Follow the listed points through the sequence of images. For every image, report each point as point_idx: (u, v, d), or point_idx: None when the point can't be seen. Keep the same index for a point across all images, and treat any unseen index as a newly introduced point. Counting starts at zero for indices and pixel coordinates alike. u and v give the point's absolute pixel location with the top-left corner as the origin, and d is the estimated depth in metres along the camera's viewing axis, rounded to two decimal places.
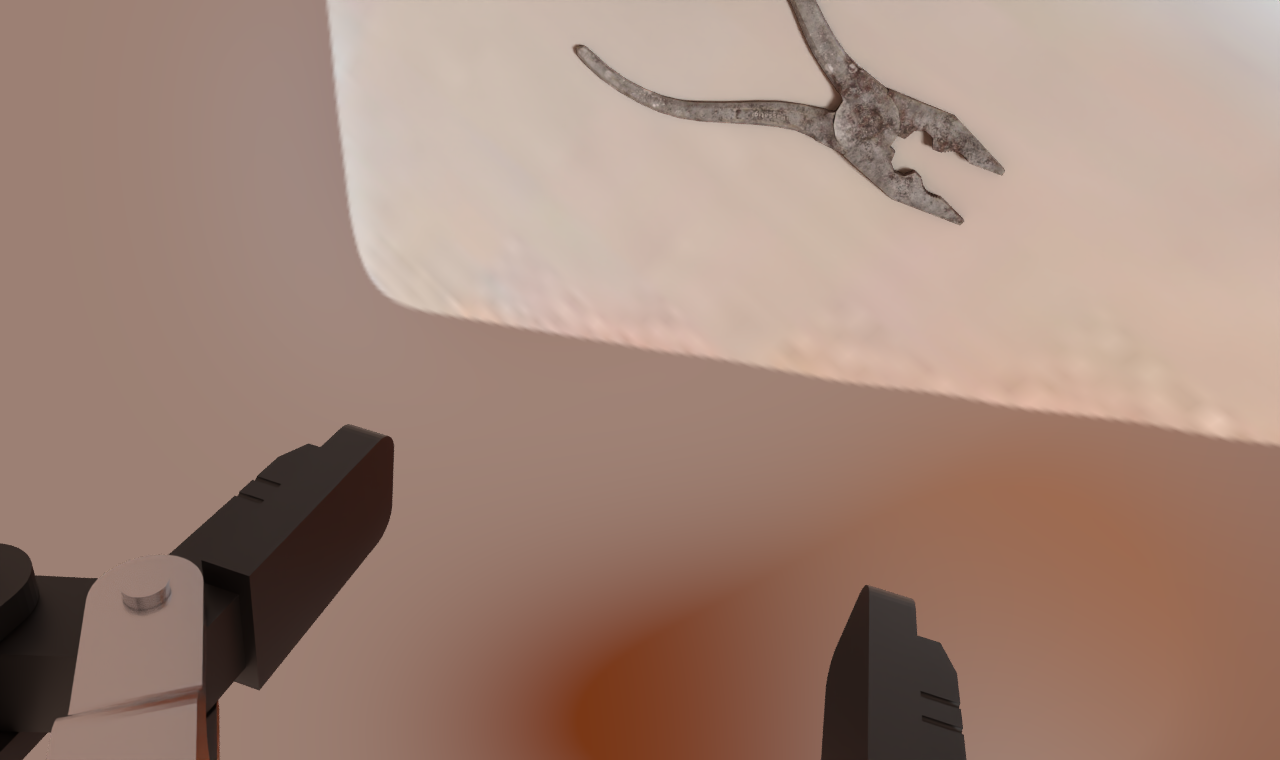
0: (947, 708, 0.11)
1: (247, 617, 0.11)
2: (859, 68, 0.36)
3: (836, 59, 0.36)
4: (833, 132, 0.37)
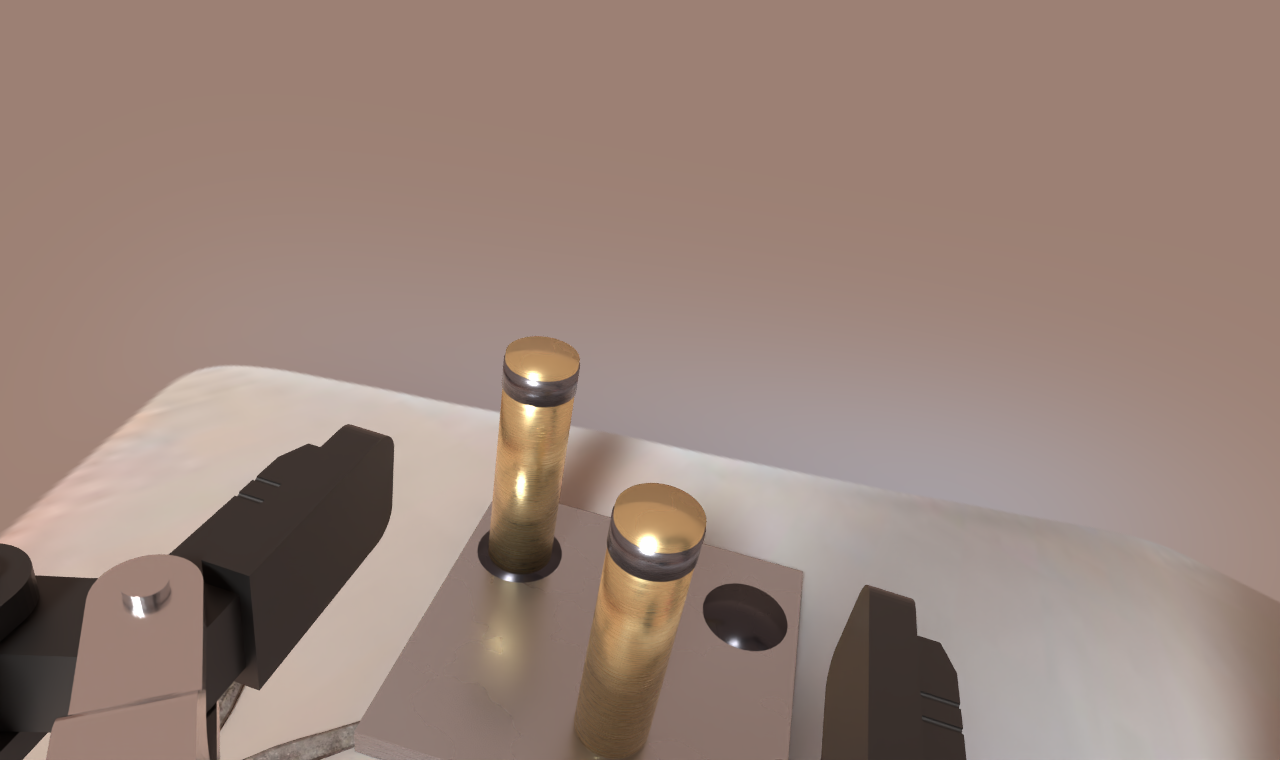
0: (947, 708, 0.11)
1: (247, 617, 0.11)
2: None
3: None
4: None
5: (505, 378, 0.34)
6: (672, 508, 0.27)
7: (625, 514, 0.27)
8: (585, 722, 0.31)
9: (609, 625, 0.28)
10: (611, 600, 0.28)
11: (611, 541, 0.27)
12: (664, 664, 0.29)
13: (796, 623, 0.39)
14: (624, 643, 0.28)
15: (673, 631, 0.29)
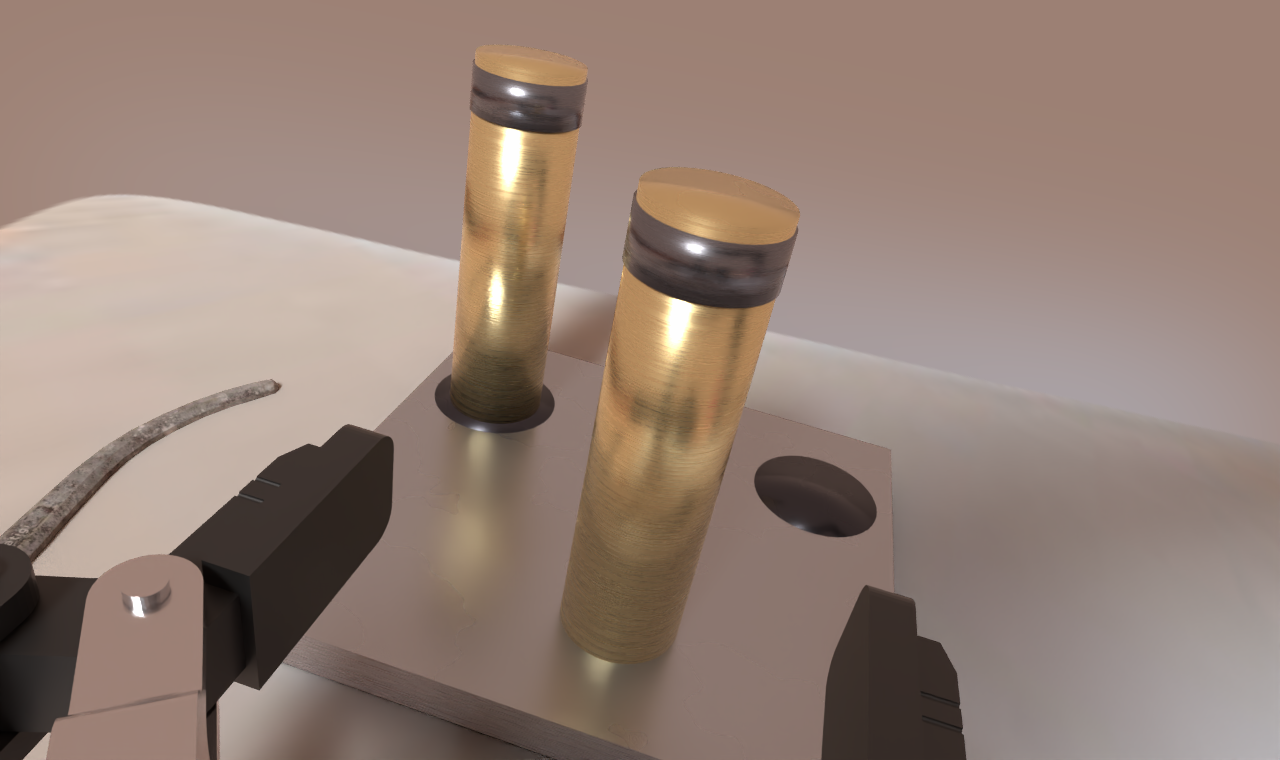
0: (947, 708, 0.11)
1: (247, 617, 0.11)
2: None
3: None
4: None
5: (473, 92, 0.22)
6: (739, 194, 0.15)
7: (658, 188, 0.15)
8: (578, 601, 0.19)
9: (622, 408, 0.16)
10: (626, 360, 0.16)
11: (631, 241, 0.15)
12: (711, 495, 0.18)
13: (888, 508, 0.27)
14: (647, 441, 0.16)
15: (730, 430, 0.17)
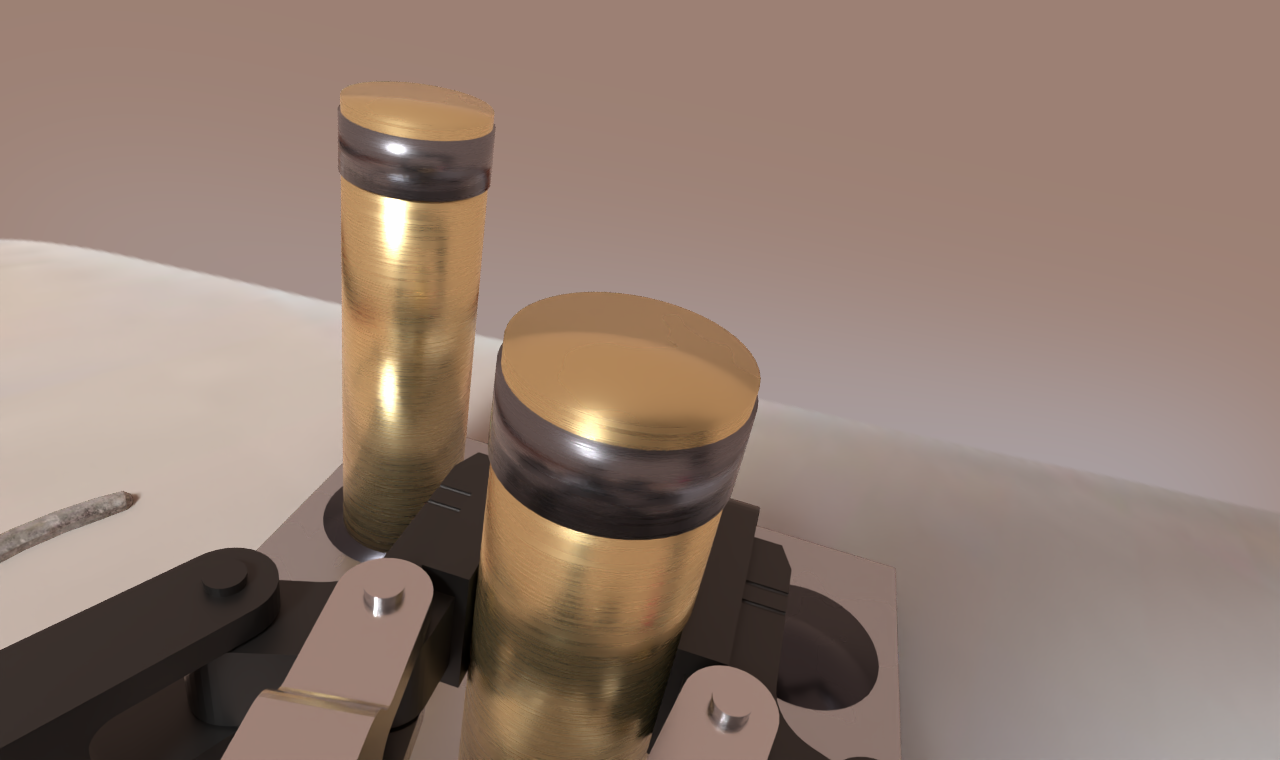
0: (775, 596, 0.12)
1: (459, 619, 0.11)
2: None
3: None
4: None
5: (340, 146, 0.17)
6: (667, 344, 0.10)
7: (532, 345, 0.09)
8: None
9: (496, 658, 0.11)
10: (497, 593, 0.10)
11: (494, 424, 0.10)
12: (640, 757, 0.12)
13: (894, 658, 0.21)
14: (533, 708, 0.11)
15: (663, 679, 0.11)
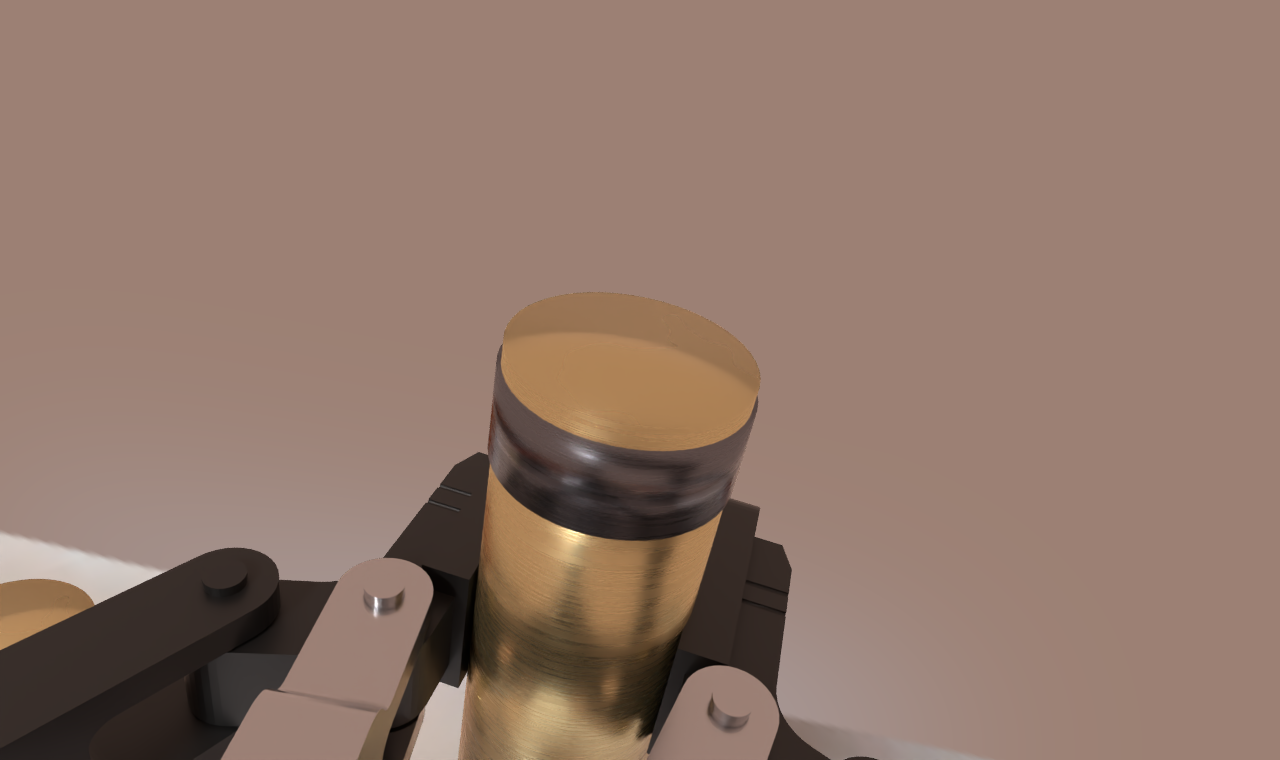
0: (775, 596, 0.12)
1: (459, 619, 0.11)
2: None
3: None
4: None
5: None
6: (667, 344, 0.10)
7: (532, 346, 0.09)
8: None
9: (496, 658, 0.11)
10: (497, 594, 0.10)
11: (493, 425, 0.10)
12: (640, 757, 0.12)
13: None
14: (533, 708, 0.11)
15: (663, 679, 0.11)
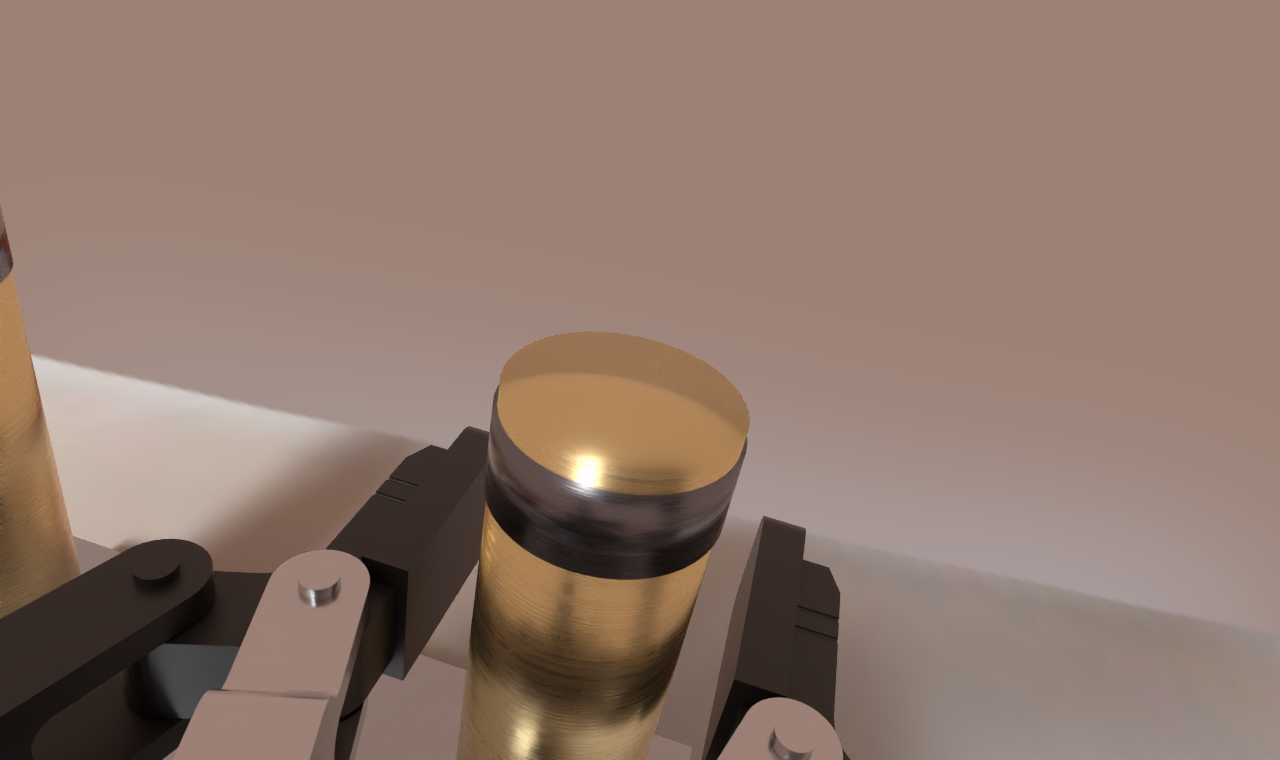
0: (826, 621, 0.12)
1: (400, 611, 0.11)
2: None
3: None
4: None
5: None
6: (659, 386, 0.10)
7: (527, 389, 0.10)
8: None
9: (491, 689, 0.11)
10: (492, 627, 0.11)
11: (489, 465, 0.10)
12: None
13: None
14: (527, 738, 0.11)
15: (654, 709, 0.12)
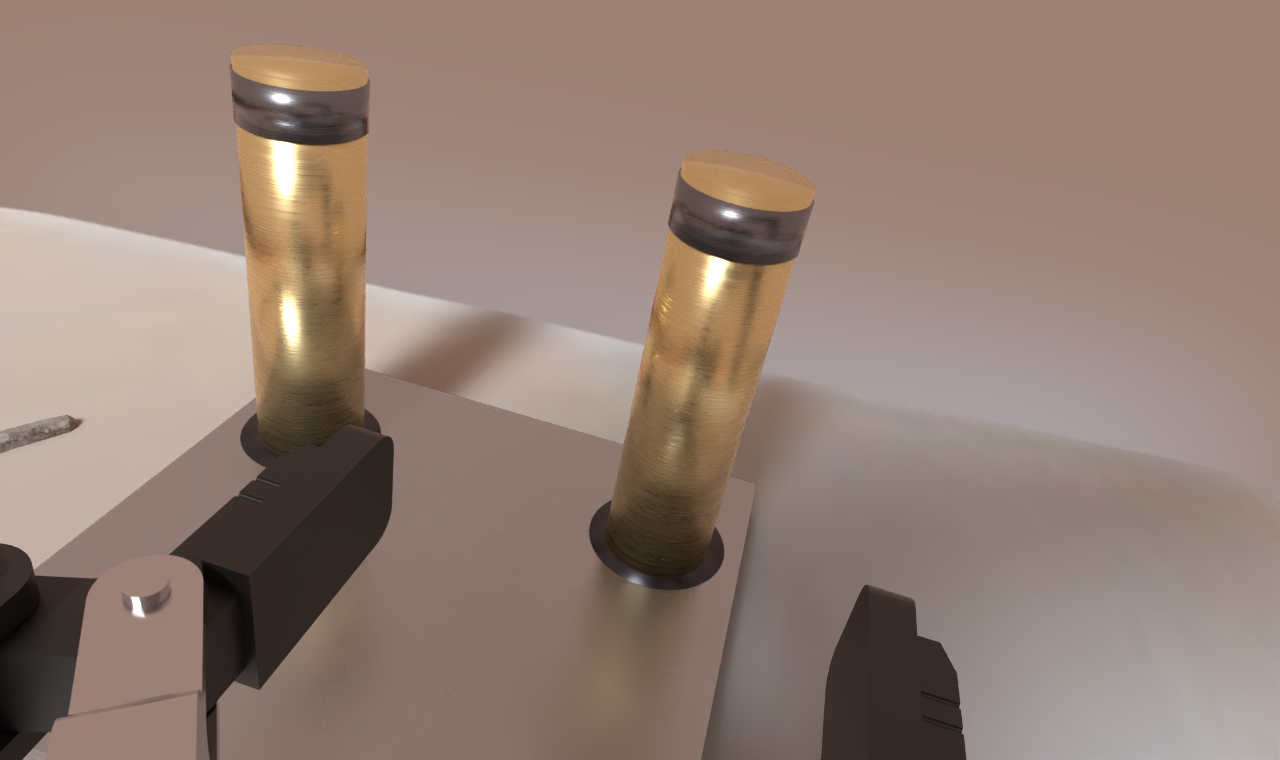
0: (947, 708, 0.11)
1: (247, 617, 0.11)
2: None
3: None
4: None
5: (234, 97, 0.20)
6: (765, 171, 0.19)
7: (699, 166, 0.18)
8: (624, 522, 0.23)
9: (667, 352, 0.20)
10: (672, 310, 0.19)
11: (677, 210, 0.18)
12: (739, 428, 0.21)
13: (738, 553, 0.24)
14: (687, 379, 0.20)
15: (756, 370, 0.20)
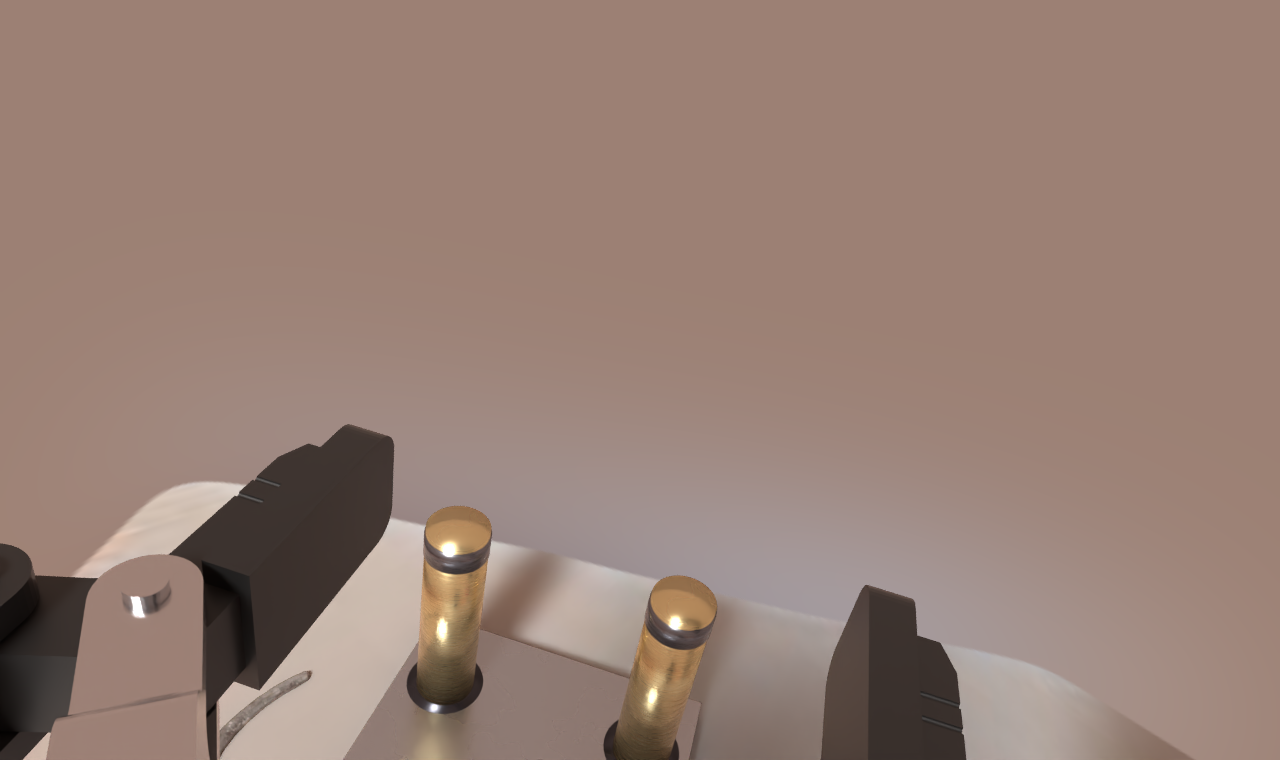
0: (947, 708, 0.11)
1: (247, 617, 0.11)
2: None
3: None
4: None
5: (425, 547, 0.39)
6: (692, 596, 0.38)
7: (659, 600, 0.37)
8: (622, 748, 0.42)
9: (644, 678, 0.39)
10: (646, 661, 0.38)
11: (648, 619, 0.37)
12: (683, 707, 0.40)
13: (687, 756, 0.43)
14: (655, 692, 0.39)
15: (690, 683, 0.39)
